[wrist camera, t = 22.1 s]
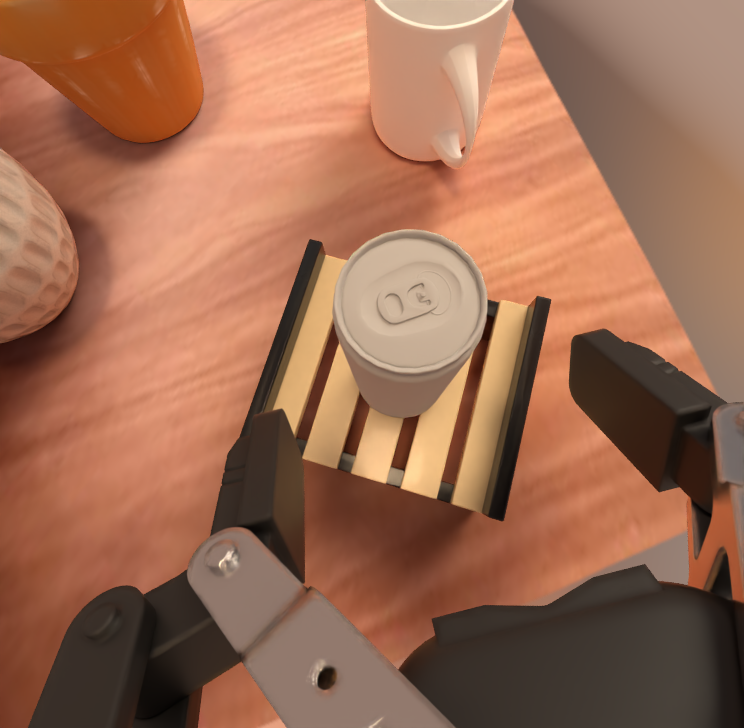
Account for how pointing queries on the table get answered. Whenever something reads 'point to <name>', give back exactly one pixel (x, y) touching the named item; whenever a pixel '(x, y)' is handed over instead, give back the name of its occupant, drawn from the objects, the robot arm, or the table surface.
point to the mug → (432, 73)
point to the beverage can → (408, 318)
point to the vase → (32, 253)
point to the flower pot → (111, 59)
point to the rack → (381, 432)
